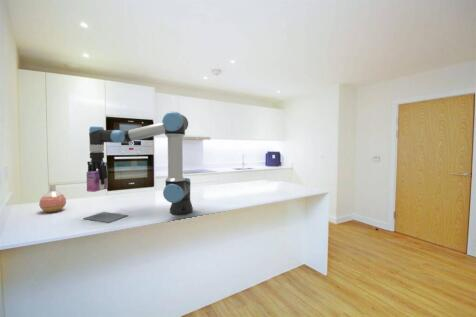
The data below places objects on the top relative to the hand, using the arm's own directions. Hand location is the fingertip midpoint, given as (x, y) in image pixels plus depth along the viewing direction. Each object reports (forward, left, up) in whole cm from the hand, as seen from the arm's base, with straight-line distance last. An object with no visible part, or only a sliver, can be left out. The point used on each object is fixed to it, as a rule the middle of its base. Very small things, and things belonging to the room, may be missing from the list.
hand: (97, 189), depth 140 cm
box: (0, 0, -1) cm, 1 cm away
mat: (-7, 0, -17) cm, 18 cm away
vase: (+36, +2, -17) cm, 40 cm away
